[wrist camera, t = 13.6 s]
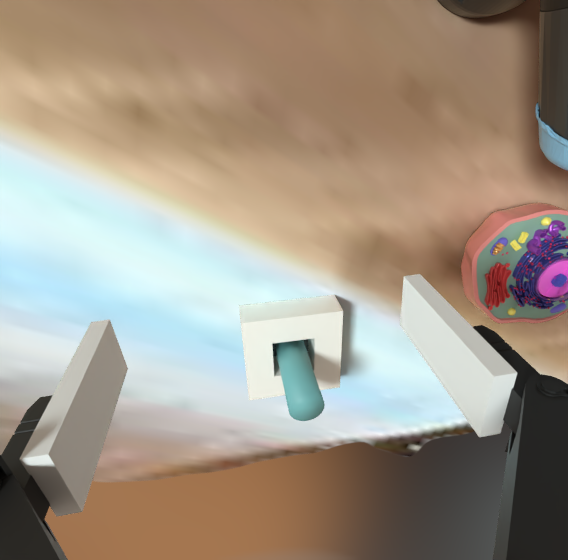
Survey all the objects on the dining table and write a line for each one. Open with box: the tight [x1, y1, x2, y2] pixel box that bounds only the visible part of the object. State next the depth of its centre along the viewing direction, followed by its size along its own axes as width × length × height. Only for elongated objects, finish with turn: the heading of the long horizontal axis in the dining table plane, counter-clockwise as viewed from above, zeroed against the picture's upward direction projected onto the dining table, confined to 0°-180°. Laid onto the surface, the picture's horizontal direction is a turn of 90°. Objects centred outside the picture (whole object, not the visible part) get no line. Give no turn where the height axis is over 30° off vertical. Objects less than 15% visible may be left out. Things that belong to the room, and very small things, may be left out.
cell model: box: [461, 203, 568, 323], centre depth 52 cm, size 17×20×11 cm
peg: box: [274, 340, 324, 421], centre depth 52 cm, size 4×4×14 cm
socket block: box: [239, 295, 343, 400], centre depth 57 cm, size 14×14×4 cm
